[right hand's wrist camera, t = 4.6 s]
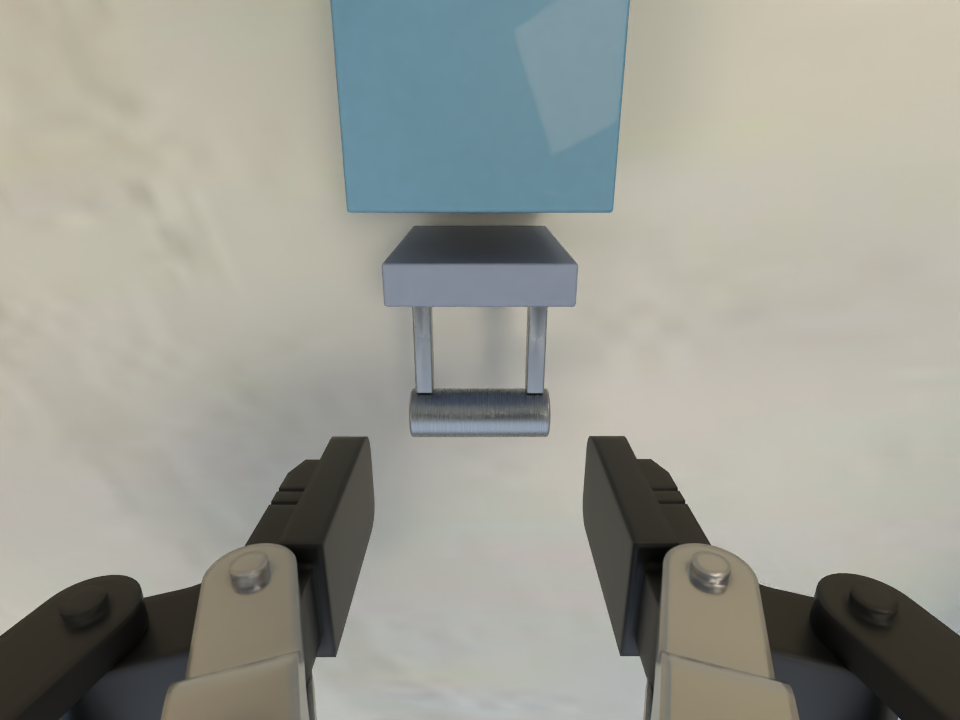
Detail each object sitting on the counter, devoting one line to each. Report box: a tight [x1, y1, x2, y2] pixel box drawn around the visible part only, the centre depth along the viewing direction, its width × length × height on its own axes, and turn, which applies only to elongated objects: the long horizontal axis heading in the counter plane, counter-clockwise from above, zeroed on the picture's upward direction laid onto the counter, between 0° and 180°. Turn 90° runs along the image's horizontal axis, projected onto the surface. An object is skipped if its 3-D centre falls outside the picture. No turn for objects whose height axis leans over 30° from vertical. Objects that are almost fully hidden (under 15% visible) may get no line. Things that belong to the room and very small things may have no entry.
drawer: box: [382, 226, 578, 437], centre depth 17 cm, size 24×5×8 cm, turn 0°
